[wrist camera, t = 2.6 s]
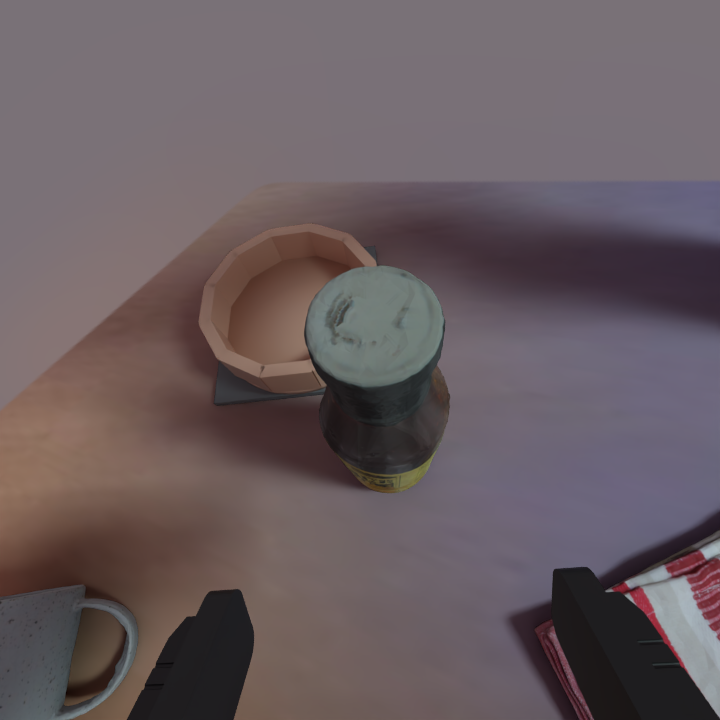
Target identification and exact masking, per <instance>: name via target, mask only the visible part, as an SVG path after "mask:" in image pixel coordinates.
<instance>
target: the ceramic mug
mask: <svg viewBox="0 0 720 720" xmlns="http://www.w3.org/2000/svg"><path fill="white" fill-rule="evenodd" d="M85 590H86V587H85V585H74V586H68V587H60V588H54V589H45V590H41V591H34V592H29V593H22V594H16V595H11V596H4V597H0V720H69V719H73V718H75V717H77V716H79V715H82V714H84V713H86V712H88V711H89V710H91V709H92V708H94V707H96V706H97V705H99V704H100V703H102V702H103V701H104V700H105V699H106V698H108V697H109V696H110V695H111V694H112V693H113V692H114V690H115V689H116V688H117V687H118V686H119V684H120V683H121V682H122V680H123V679H124V678H125V676H126V674H127V672H128V670H129V669H130V667H131V665H132V663H133V660H134V657H135V654H136V649H137V644H138V627H137V623H136V620H135V618H134V616H133V614H132V613H131V612H130V611H129V610H128V609H127V608H126V607H125V606H123V605H121V604H119V603H117V602H115V601H110V600H105V599H96V598H92V599H87V598H85ZM83 607H89V608H93V609H99V610H103V611H107V612H109V613H111V614H112V615H113V616H114V617H115V618H117V619H118V620H119V623H121V624H122V625H123V626H124V628H125V630H126V631H127V637H126V641H125V646H124V651H123V654H122V656H121V659H120V660H119V662H118V663H117V664H116V666H115V674H114V676H113V677H112V679H111V680H110V682H109V684H108V686H107V688H106V689H105V690H104V691H102V692H101V693H100V694H98V695H96V696H94V697H92V698H91V699H89V700H86V701H84V702H81V703H79V704H76V705H72V706H64V701H65V695H66V690H67V685H68V680H69V673H70V666H71V659H72V654H73V650H74V646H75V641H76V637H77V633H78V628H79V623H80V617H81V612H82V608H83Z"/></svg>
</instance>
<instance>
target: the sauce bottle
mask: <svg viewBox="0 0 720 720" xmlns="http://www.w3.org/2000/svg"><path fill="white" fill-rule="evenodd" d="M444 331H445V319H444V317H443V311H442V308H441V305H440V303H439V300H438V299H437V297H436V295H435V293H434V292H433V291H432V289H431V288H430V287H429V286H428V285H426V284H425V283H424V282H423V281H421V280H419V279H418V278H416V277H415V276H414V275H412V274H411V273H409V272H407V271H405V270H402V269H399V268H395V267H391V266H383V265H381V266H375V267H369V266H366V267H359V268H354V269H351V270H349V271H346V272H344V273H342V274H340V275H339V276H337V277H335V278H334V279H332V280H330V281H329V282H327V283H326V284H325V285H324V286H323V288H322V289H321V290H320V291H319V292H318V293H317V294H316V295H315V297H314V299H313V300H312V301H311V303H310V306H309V308H308V313H307V317H306V321H305V328H304V338H305V344H306V346H307V348H308V352H309V355H310V359H311V362H312V364H313V366H314V368H315V370H316V372H317V374H318V375H319V376H320V378H321V379H322V380H323V381H324V382H325V384H326V385H327V386H326V389H325V392H324V396H323V398H322V401H321V404H320V409H319V420H320V426H321V429H322V432H323V435H324V437H325V439H326V441H327V443H328V444H329V446H330V447H331V448H332V450H333V451H334V452H335V453H336V455H337V456H338V457H339V458H340V459H341V461H342V462H343V463H344V464H345V465H346V466H347V467H348V469H349V470H350V471H351V472H352V473H353V474H354V476H355V477H356V478H357V479H358V480H359V481H360V482H361V483H362V484H363V485H365V486H367V487H368V488H370V489H372V490H374V491H378V492H382V493H397V492H401V491H405V490H407V489H409V488H410V487H412V486H413V485H415V484H416V483H417V482H418V481H419V480H421V478H422V477H423V476H424V474H425V473H426V471H427V470H428V468H429V466H430V463H431V461H432V459H433V456H434V455H435V453H436V451H437V449H438V447H439V445H440V443H441V440H442V437H443V434H444V429H445V427H446V424H447V422H448V415H449V408H450V406H449V400H450V394H449V393H448V388H447V385H446V382H445V379H444V376H443V375H442V373H441V371H440V369H439V368H438V366H437V363H438V361H439V359H440V356H441V350H442V346H443V339H444Z"/></svg>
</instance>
